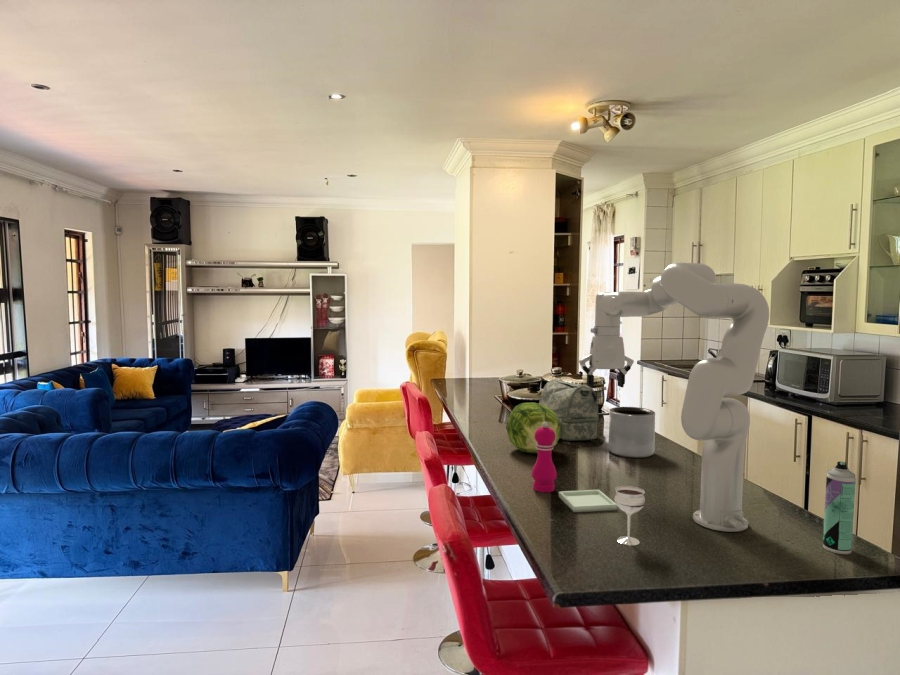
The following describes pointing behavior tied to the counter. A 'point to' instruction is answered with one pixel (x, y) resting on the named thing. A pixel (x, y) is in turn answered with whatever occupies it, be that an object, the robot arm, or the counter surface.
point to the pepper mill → (544, 460)
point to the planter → (631, 432)
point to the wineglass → (629, 507)
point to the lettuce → (530, 425)
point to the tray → (587, 500)
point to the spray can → (839, 509)
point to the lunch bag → (572, 408)
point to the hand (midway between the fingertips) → (605, 386)
